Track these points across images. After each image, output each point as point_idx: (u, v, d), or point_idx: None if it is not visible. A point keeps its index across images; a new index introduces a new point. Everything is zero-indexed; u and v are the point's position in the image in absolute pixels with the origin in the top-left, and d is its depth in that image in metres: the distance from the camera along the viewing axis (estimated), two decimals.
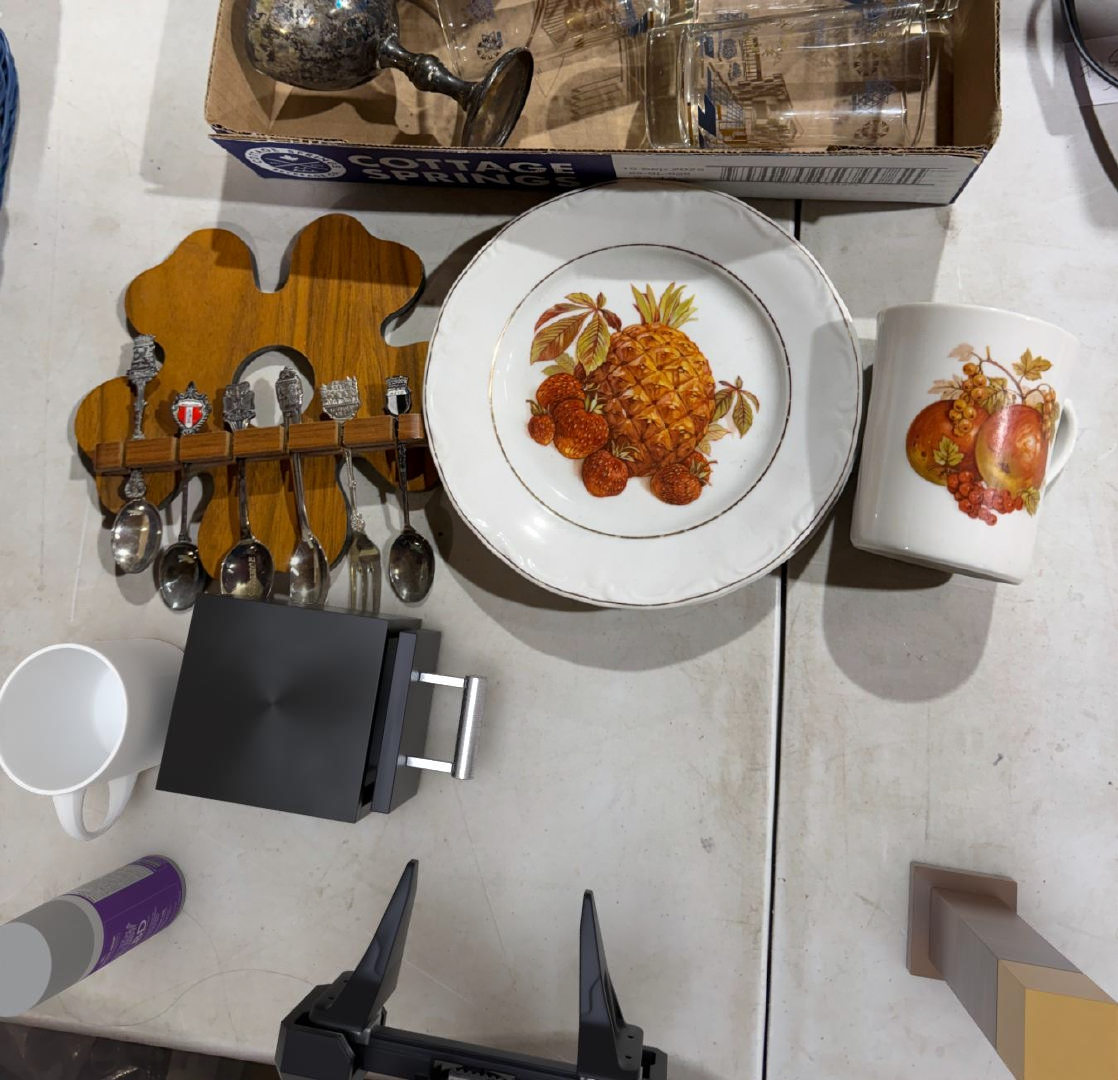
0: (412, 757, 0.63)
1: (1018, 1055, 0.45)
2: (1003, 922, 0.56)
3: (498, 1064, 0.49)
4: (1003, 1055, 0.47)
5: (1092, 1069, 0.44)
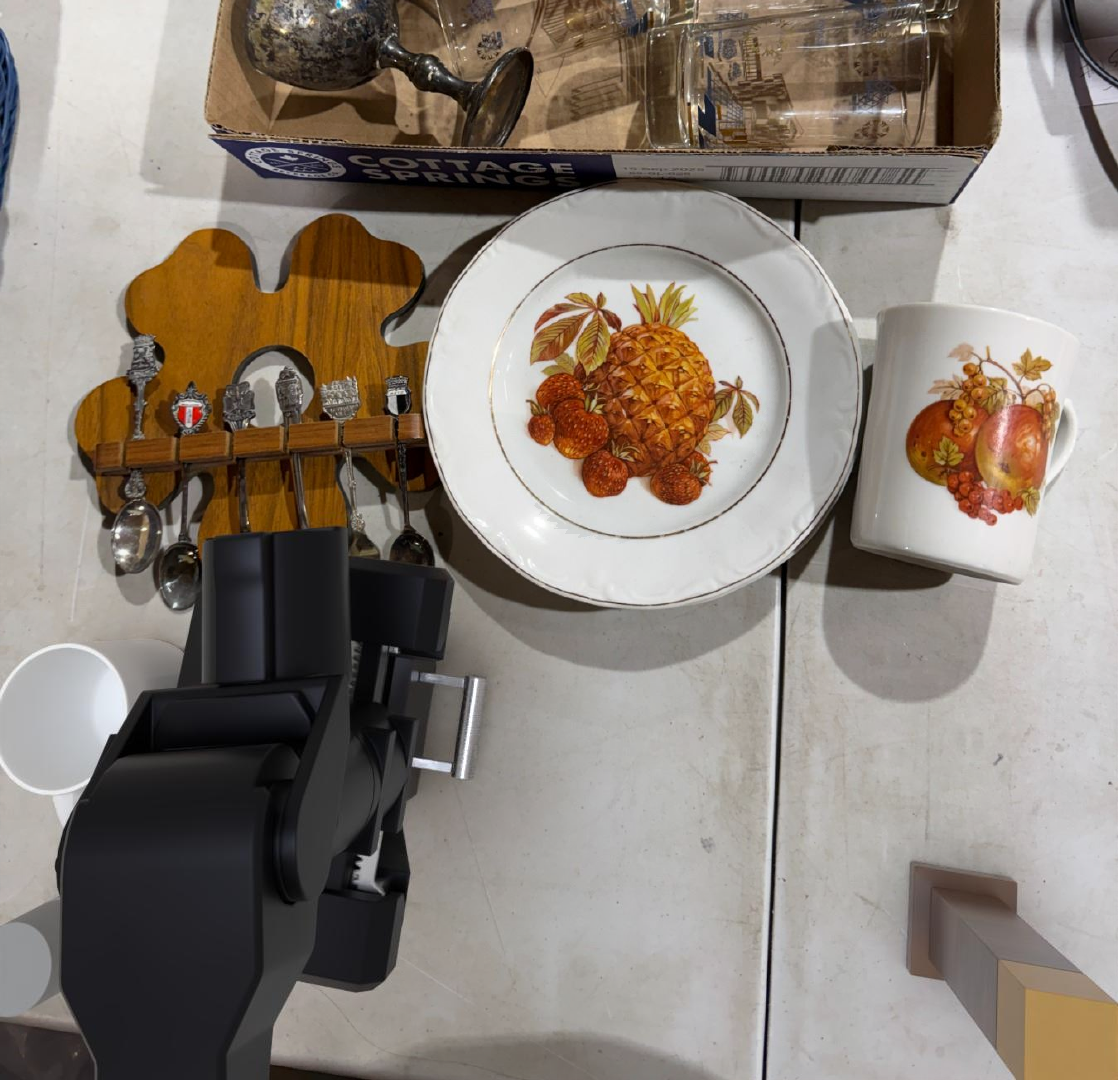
0: None
1: (1018, 1055, 0.45)
2: (1003, 922, 0.56)
3: None
4: (1003, 1055, 0.47)
5: (1092, 1069, 0.44)
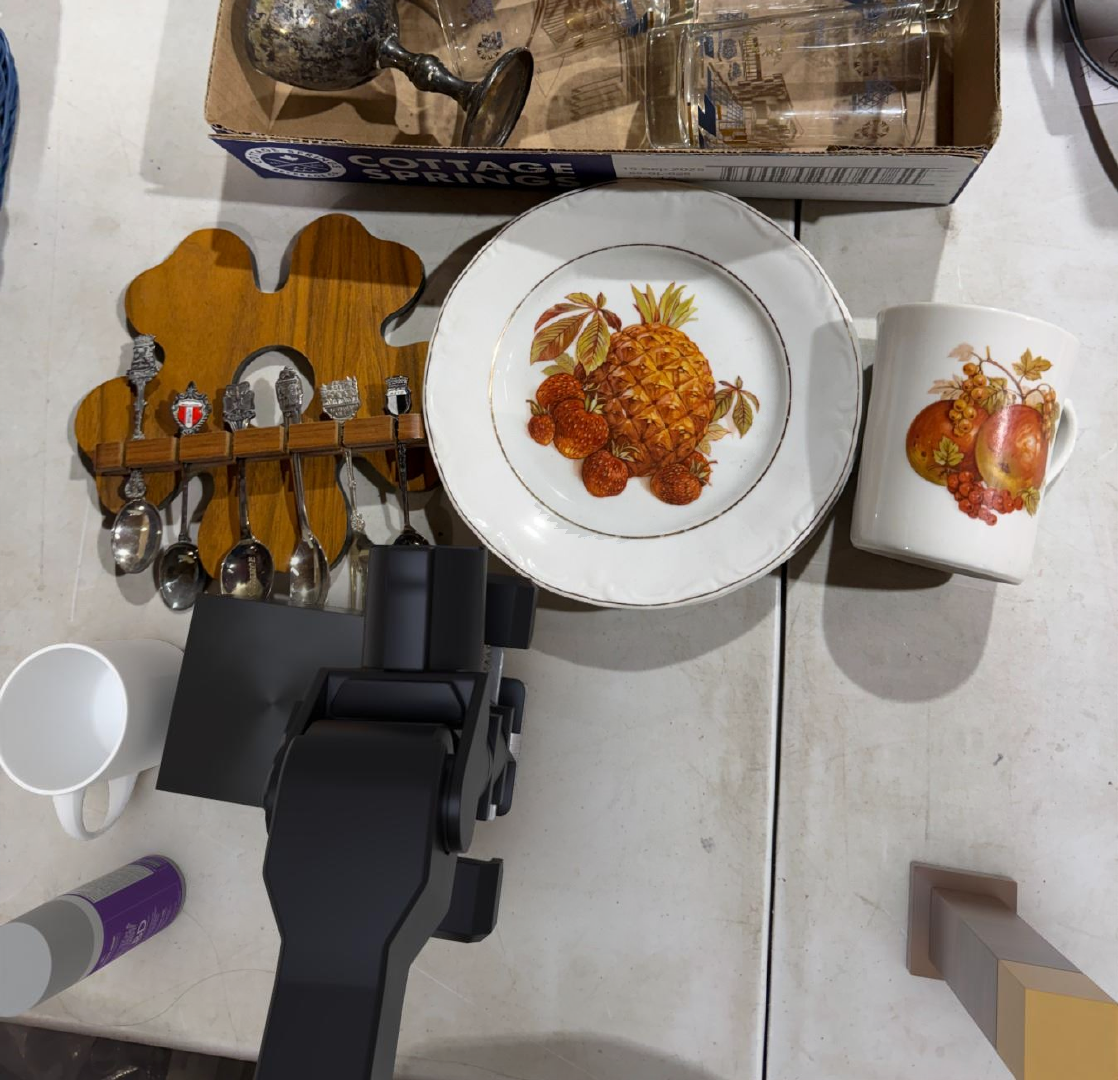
0: None
1: (1018, 1055, 0.45)
2: (1003, 922, 0.56)
3: None
4: (1003, 1055, 0.47)
5: (1092, 1069, 0.44)
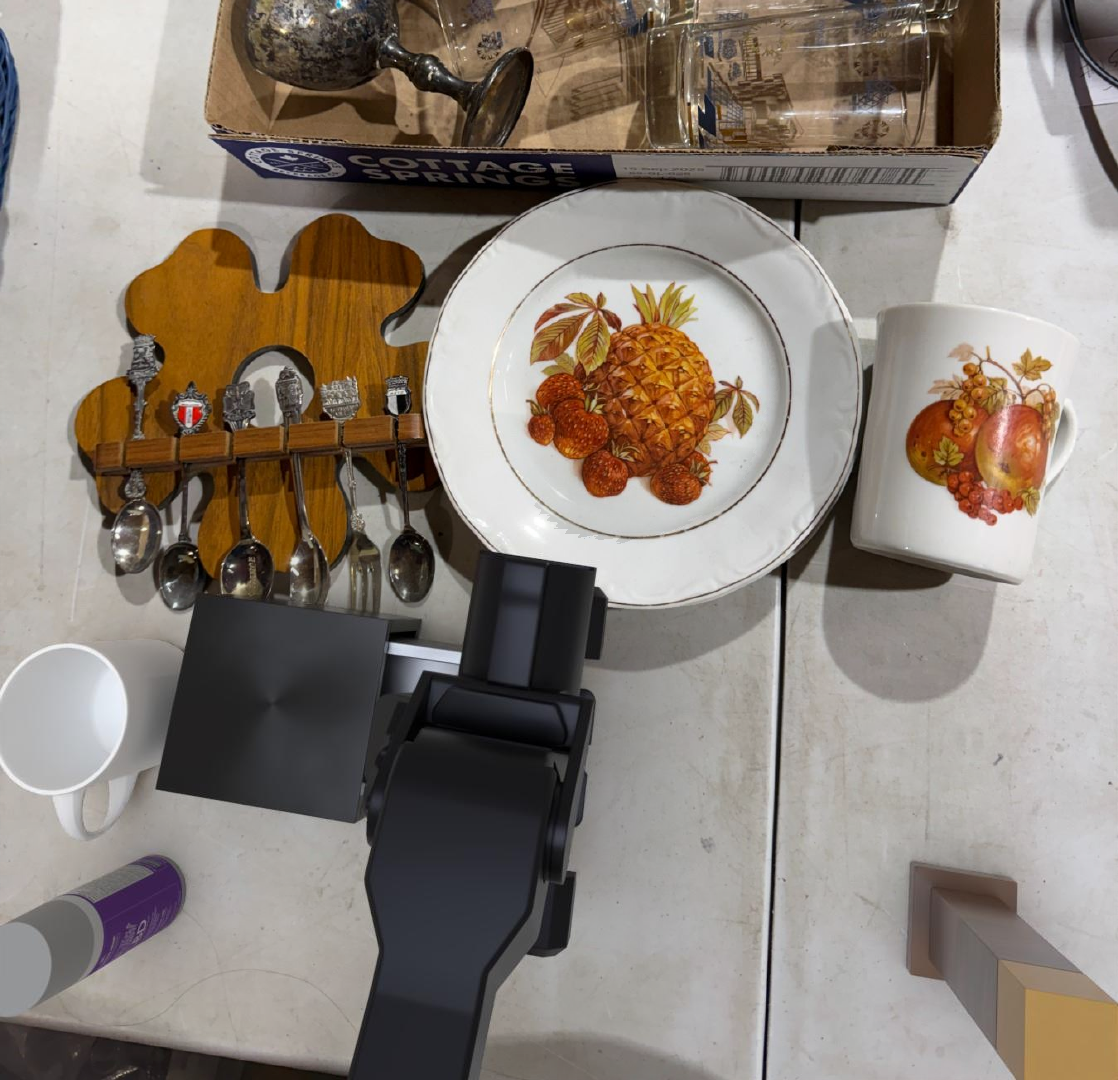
0: None
1: (1018, 1055, 0.45)
2: (1003, 922, 0.56)
3: None
4: (1003, 1055, 0.47)
5: (1092, 1069, 0.44)
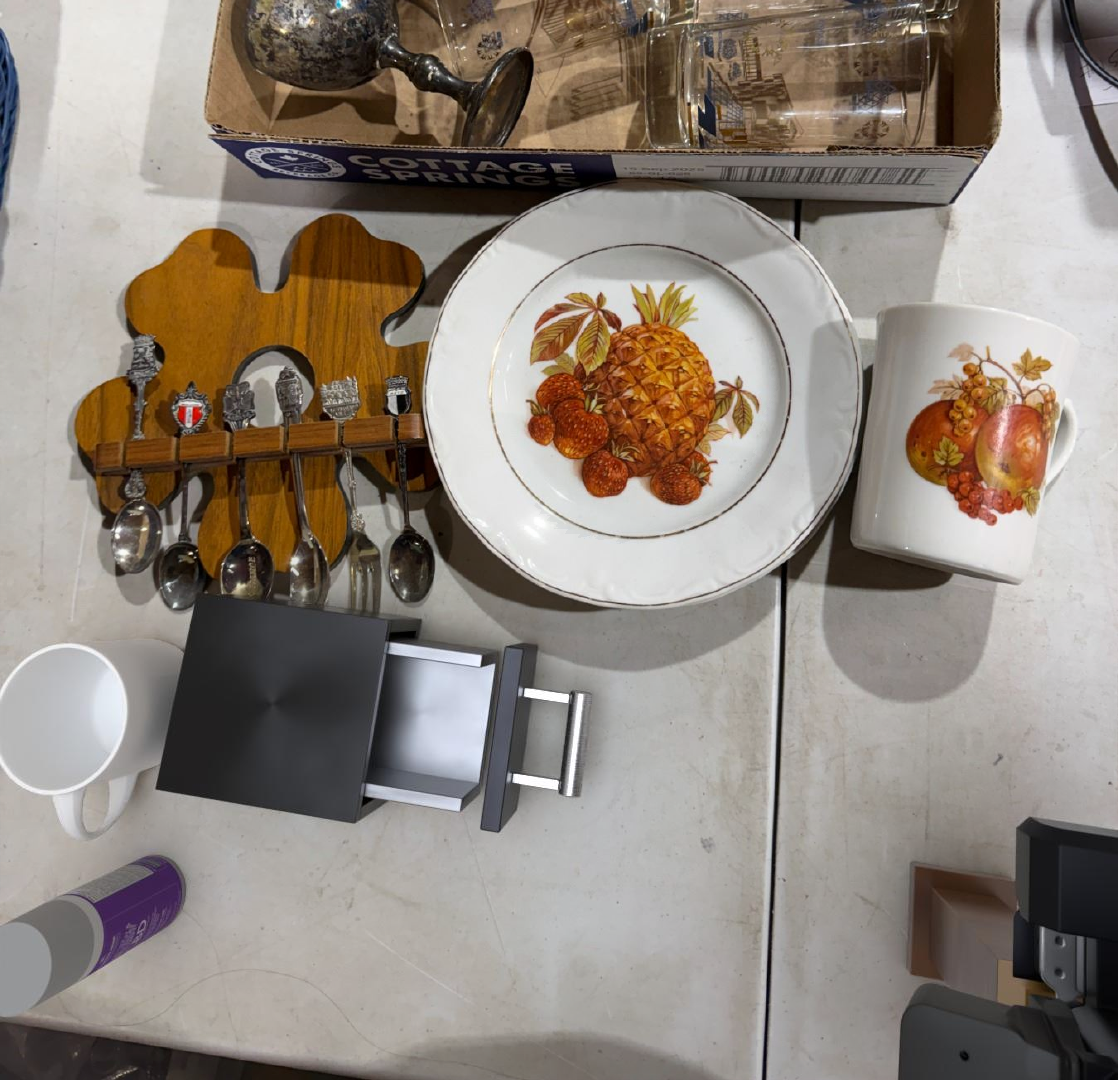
0: (518, 774, 0.62)
1: None
2: (1003, 922, 0.56)
3: None
4: None
5: None
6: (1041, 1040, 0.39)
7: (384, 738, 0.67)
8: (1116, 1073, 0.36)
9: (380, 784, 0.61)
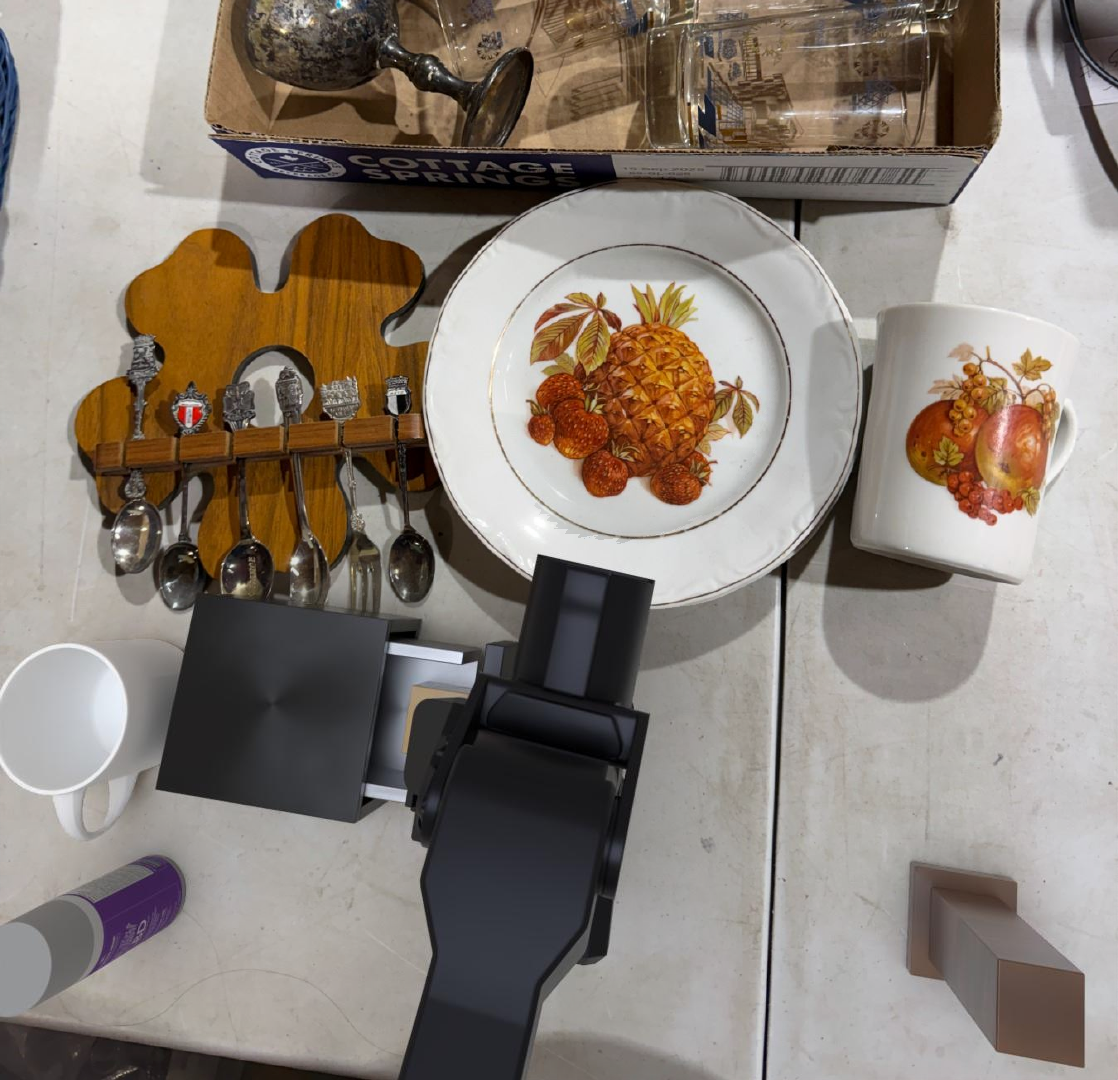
0: None
1: None
2: (1003, 922, 0.56)
3: None
4: None
5: None
6: None
7: None
8: None
9: None
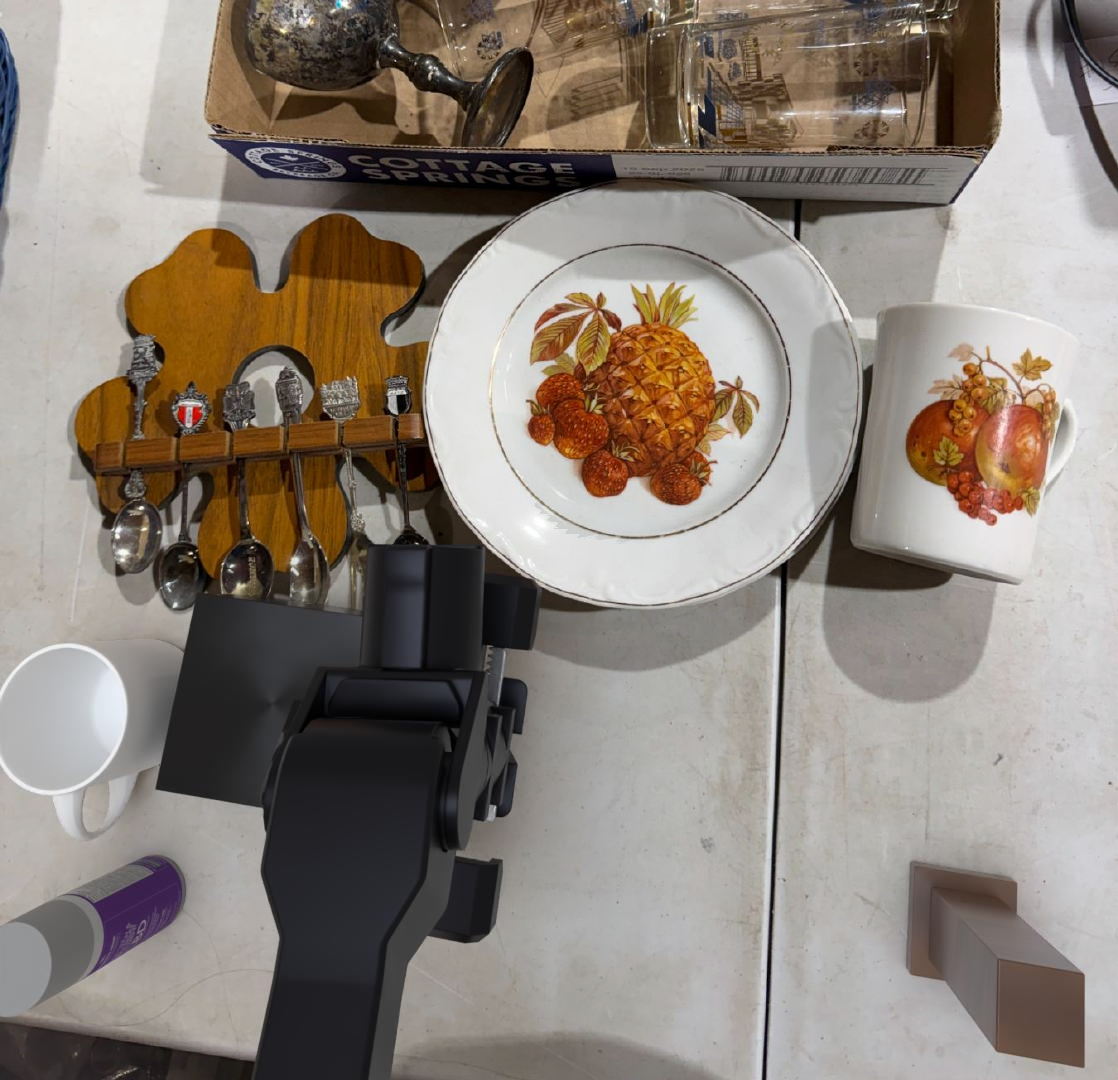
0: None
1: None
2: (1003, 922, 0.56)
3: None
4: None
5: None
6: None
7: None
8: None
9: None
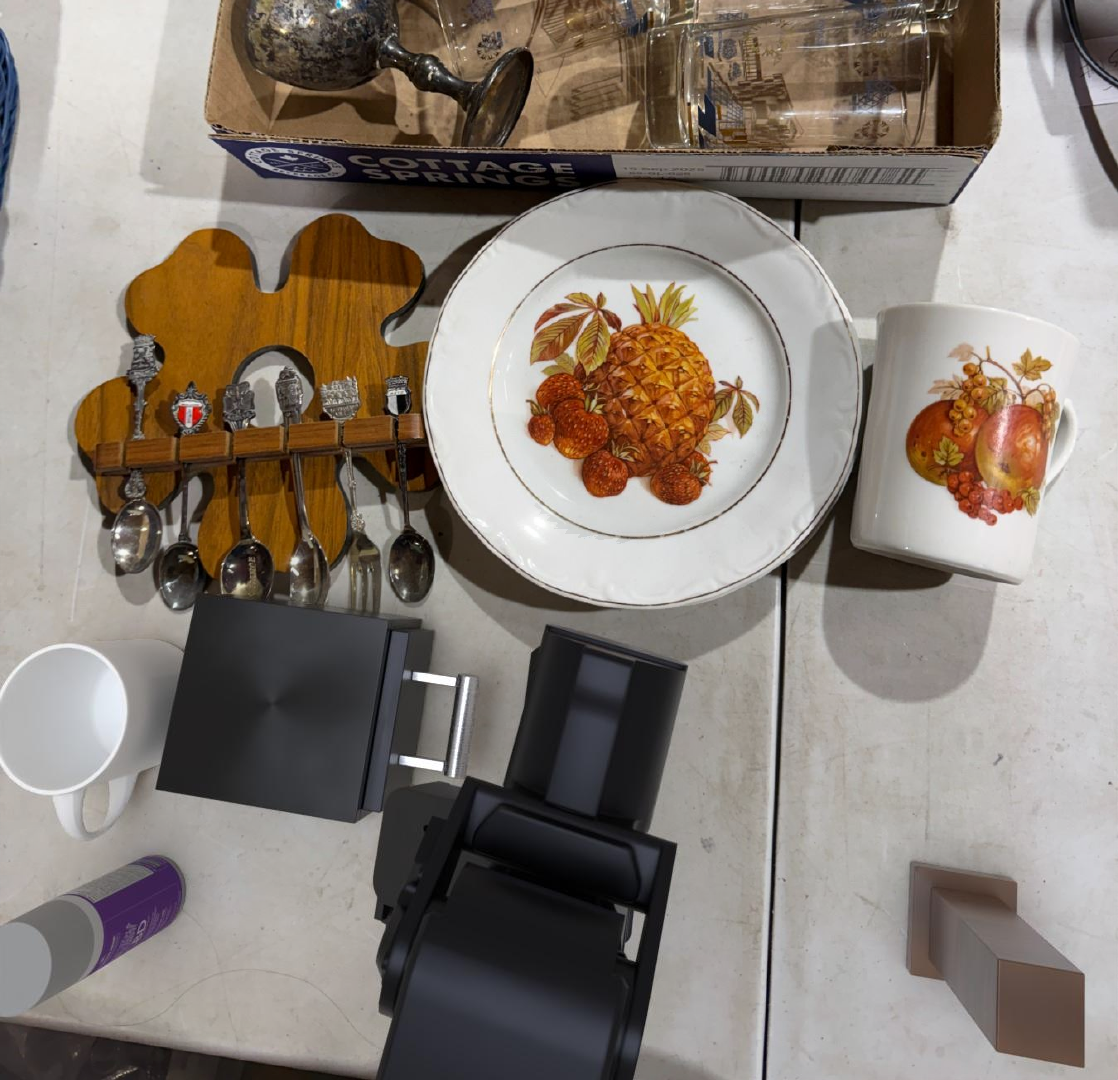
0: (404, 756, 0.63)
1: None
2: (1003, 922, 0.56)
3: None
4: None
5: None
6: None
7: None
8: None
9: None
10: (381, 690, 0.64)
